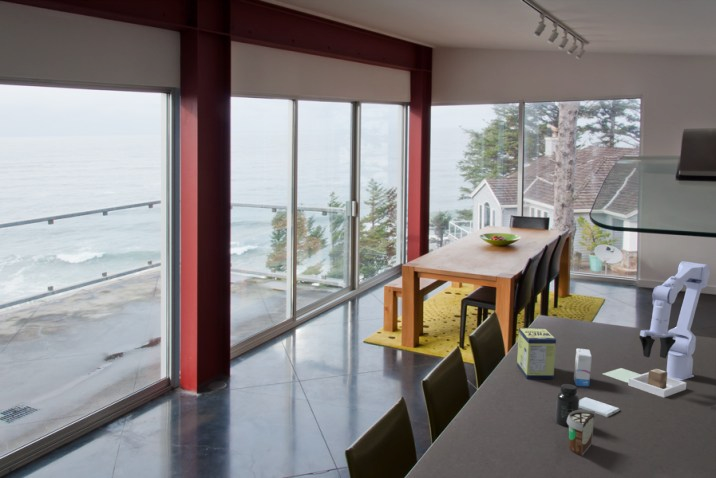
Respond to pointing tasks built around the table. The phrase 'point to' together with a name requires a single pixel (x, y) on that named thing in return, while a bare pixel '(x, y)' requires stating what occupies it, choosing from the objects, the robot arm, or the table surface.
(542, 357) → the protein box
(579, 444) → the food container
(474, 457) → the table surface
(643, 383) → the grey bin
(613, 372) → the sage pad
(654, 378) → the walnut block
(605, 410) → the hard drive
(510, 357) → the table surface
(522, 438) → the table surface
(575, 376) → the ink box
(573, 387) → the supplement bottle
